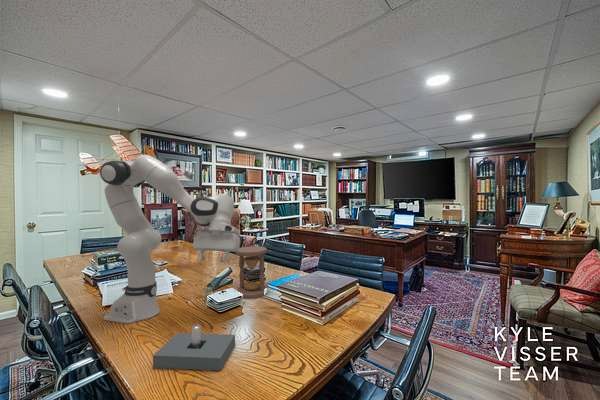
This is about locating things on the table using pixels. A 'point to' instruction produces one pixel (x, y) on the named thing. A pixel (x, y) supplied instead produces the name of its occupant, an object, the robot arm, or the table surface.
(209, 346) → the hole block
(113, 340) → the table surface
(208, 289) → the valve
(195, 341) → the peg
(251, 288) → the hourglass
